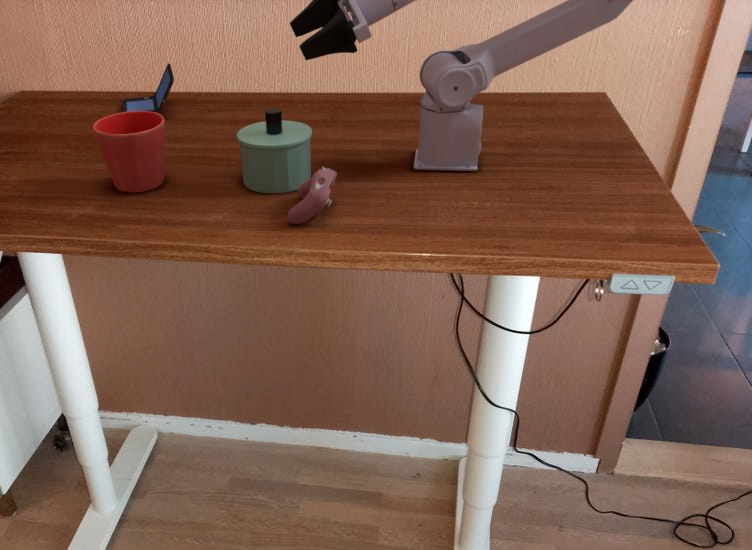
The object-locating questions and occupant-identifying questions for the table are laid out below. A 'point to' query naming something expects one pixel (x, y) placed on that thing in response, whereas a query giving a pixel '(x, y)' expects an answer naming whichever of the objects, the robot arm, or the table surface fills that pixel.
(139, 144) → the flower pot
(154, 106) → the handheld console
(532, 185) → the table surface
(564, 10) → the robot arm
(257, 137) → the pot lid
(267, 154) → the pot
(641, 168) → the table surface
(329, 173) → the video game controller
